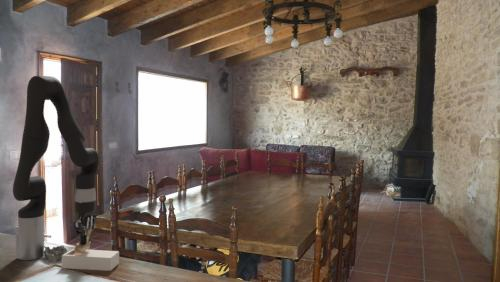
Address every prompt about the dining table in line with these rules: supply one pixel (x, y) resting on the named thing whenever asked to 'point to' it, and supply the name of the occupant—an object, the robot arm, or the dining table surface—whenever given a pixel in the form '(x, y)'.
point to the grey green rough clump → (55, 253)
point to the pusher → (81, 247)
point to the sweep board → (91, 260)
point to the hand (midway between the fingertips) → (85, 242)
